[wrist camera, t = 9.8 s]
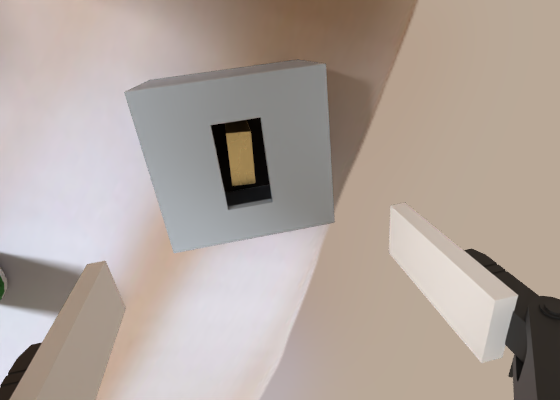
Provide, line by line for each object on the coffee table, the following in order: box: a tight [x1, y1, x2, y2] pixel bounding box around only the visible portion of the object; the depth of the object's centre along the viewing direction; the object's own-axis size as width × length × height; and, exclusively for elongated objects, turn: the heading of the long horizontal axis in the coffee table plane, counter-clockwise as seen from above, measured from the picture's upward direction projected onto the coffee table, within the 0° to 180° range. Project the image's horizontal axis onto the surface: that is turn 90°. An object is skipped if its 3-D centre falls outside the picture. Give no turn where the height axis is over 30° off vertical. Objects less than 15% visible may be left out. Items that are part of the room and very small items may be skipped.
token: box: [225, 120, 255, 186], centre depth 34 cm, size 5×2×7 cm, turn 3°
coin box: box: [124, 60, 335, 253], centre depth 32 cm, size 14×15×10 cm
